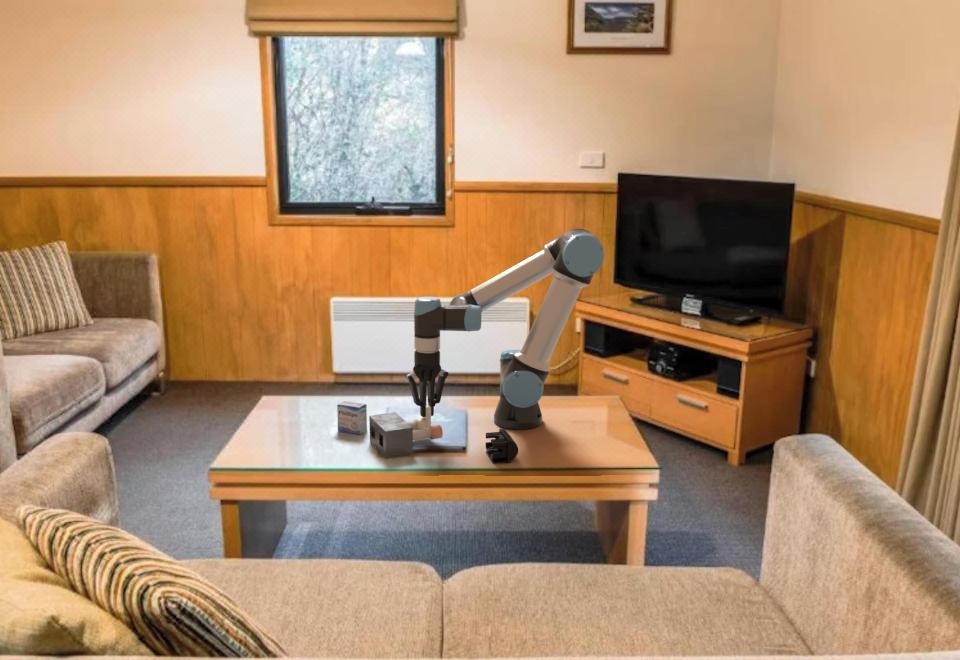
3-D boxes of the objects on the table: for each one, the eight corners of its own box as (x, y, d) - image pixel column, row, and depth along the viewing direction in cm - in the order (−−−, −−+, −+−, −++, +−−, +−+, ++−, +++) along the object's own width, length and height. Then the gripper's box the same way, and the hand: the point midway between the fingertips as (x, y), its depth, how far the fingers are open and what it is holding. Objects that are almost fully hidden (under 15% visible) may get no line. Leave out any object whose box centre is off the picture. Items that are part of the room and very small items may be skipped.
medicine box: (337, 431, 260) (336, 404, 258) (345, 427, 264) (344, 400, 262) (360, 435, 257) (359, 407, 255) (367, 430, 261) (366, 403, 259)
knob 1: (422, 428, 257) (422, 416, 256) (427, 432, 253) (427, 420, 252) (374, 435, 250) (374, 423, 249) (379, 439, 247) (378, 427, 246)
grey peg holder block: (395, 437, 255) (395, 412, 253) (412, 454, 242) (412, 427, 240) (369, 441, 251) (369, 415, 249) (386, 458, 239) (385, 431, 237)
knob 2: (437, 435, 251) (437, 423, 250) (442, 439, 247) (442, 427, 246) (389, 442, 244) (388, 430, 244) (393, 447, 241) (393, 434, 240)
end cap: (518, 462, 236) (518, 439, 235) (493, 464, 235) (493, 441, 233) (509, 450, 246) (509, 427, 244) (485, 451, 244) (485, 429, 243)
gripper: (443, 345, 256) (442, 420, 261) (401, 349, 250) (402, 425, 256) (452, 351, 249) (451, 427, 254) (410, 355, 244) (410, 433, 249)
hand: (426, 426), depth 255 cm, fingers closed
